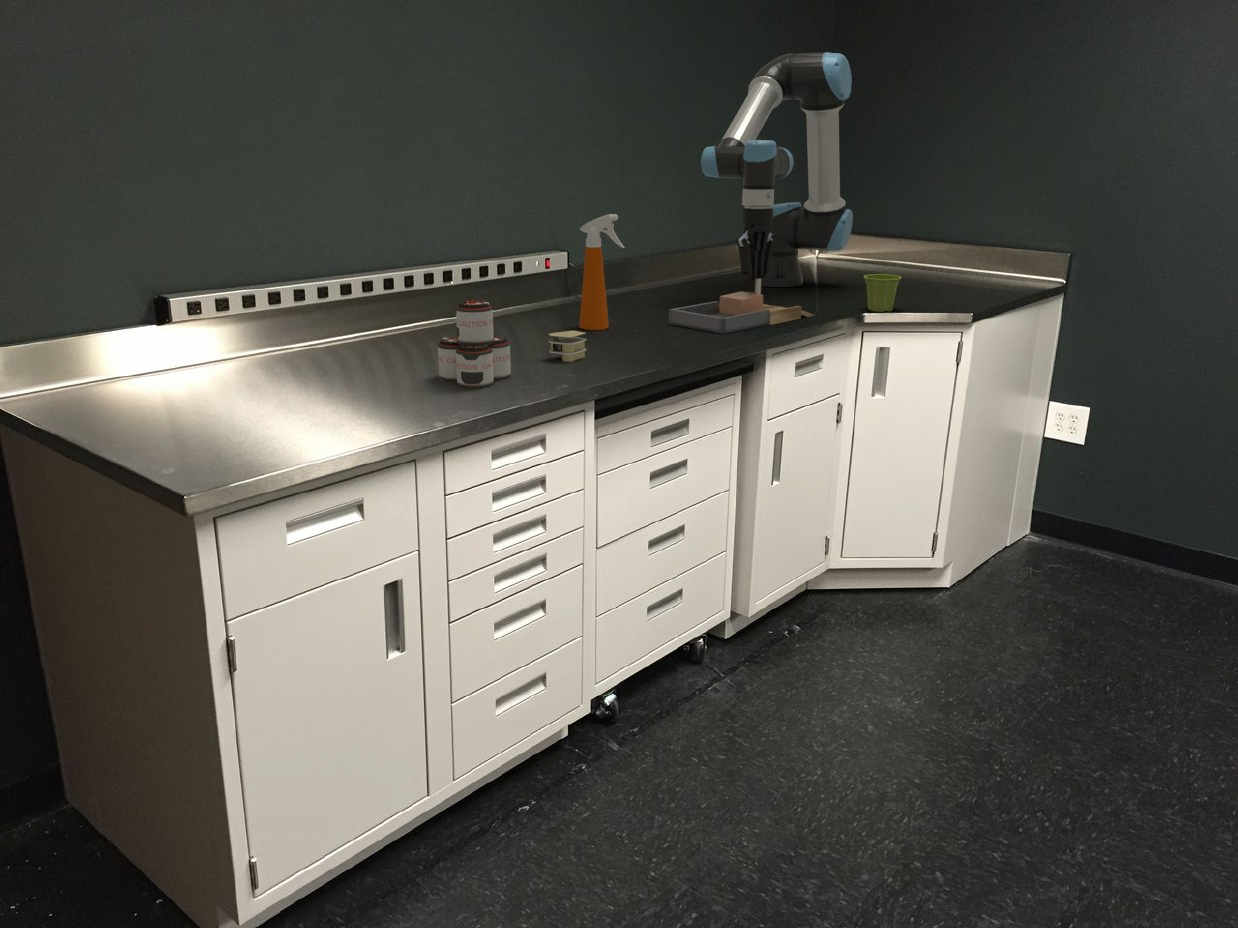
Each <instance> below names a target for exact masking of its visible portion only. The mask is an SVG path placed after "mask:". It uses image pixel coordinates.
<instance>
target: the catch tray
mask: <svg viewBox="0 0 1238 928" xmlns="http://www.w3.org/2000/svg"><path fill="white" fill-rule="evenodd" d="M719 302H720V301H710V302H704V303H698V304H693V305H687V306H682V307H676V308H670V309H668V324H669V325H672V326H676V327H678V326H679V327H683V328H688V329H693V330H697V331H698V330H699V331H704V332H710V333H714V334H720V335H724V334H725V335H726V334H730V333H733V332H734V333H735V332H739V331H743V330H748V329H754V328H758V327H759V328H760V327H762V326H769V311H770V310H767V309H766V310H761V311H756V312H750V313H745V314H740V315H735V316H731V315H725V314H719Z"/></svg>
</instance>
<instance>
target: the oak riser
mask: <svg viewBox="0 0 1238 928" xmlns="http://www.w3.org/2000/svg"><path fill="white" fill-rule="evenodd" d="M718 302H719V314H725V315H731V314H726V313H720V301H718ZM766 309H767V310H770V311H769V325H776V324H781V323H785V322H790V321H795V320H799V319H800V320H801V319H802V317H807V318H811V317H814V316H817V315H816V314H813V313H810V312H809V311H806V310H802V309H803V307H802V306H801V305H796V306H790V307H785V306H779V305H772V304H765V303H763V310H766ZM731 316H735V315H731ZM769 325H768V326H769Z"/></svg>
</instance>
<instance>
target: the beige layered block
mask: <svg viewBox="0 0 1238 928" xmlns="http://www.w3.org/2000/svg"><path fill="white" fill-rule="evenodd" d="M548 335H549V336H551V337H554V338H552V339H549V340H548V342H549V343H550V346H551V347H550V349H549V350H548V351H549V353H551V354H557V355H561V356H560V357H561V360H562V362H566V363H568V362H569V363H570V362H571V363H572V362H575V361H577V360H580V359H585V356H586V351H587V350H588V349H587V348H585V347H586V346H585V344H586V343H585V342H586V341H587V339H588V338H583V337H579V336H581V335H586V332H584V331H583V332H582V331H578V330H566V331H560V332H558V331H557V332H552V333H548Z"/></svg>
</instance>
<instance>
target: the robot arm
mask: <svg viewBox="0 0 1238 928" xmlns="http://www.w3.org/2000/svg"><path fill="white" fill-rule="evenodd" d="M852 81H853V80H852V71H851V67H850V62H849V60H848V59H847V57H846V56H845V55H844V54H842V53H837V52H835V53H834V52H830V51H829V52H828V51H826V52H809V53H808V52H804V53H786V54H782V55H780V56H778V57H776V58H774V59H772V60H771V61H770V62H768V63H767V64H765V65H764V66H763V67H761V69H760V70H759V71H758V72H756V73H755V75H754V76H753V78H752V80H751V81H750V83H749V84H748V90H747V91H748V92H747V96H746V97H745V99H744V101H743V102H742V103H741V106H740V108H739V109H738V111H737V113H736V114H735V116H734V118H733V120H732V121H731V123H730V125H729V127H727V128H728V129H727V130H726V132H725V134H724V136H723V137H722V139H721V141H720V142H719V144H718V145H717V146H716V145H713V146H707V147H705V148H704V149H703V150H702V151H703V152H702V154H701V158H700V160H701V161H700V164H701V165H700V166H701V170H702V172H703V175H704V176H706V177H709V178H718V179H743V180H742V181H743V182H742V183H743V184H742V185H743V186H742V197H741V198H742V199H741V205H742V206H744V207H743V208H742V210H741V223H742V224H744V228H743V231H742V233H743V234H742V236H741V237H736V239H735V243H736V245H737V247H738V255H739V262H740V270H741V276H742V277H744V278H745V279H747V289H746V290H747V292H748V293H754V294H761V295H762V293H761V292H762V289H763V288H762V287H768V288H769V287H770V288H789V287H791V288H792V287H799V286H802V285H803V278H804V277H803V276H804V275H803V274H802V269H801V264H800V261H799V250H810V251H811V250H813V251H826V252H831V251H832V252H835V251H836V252H838V251H839V252H840V251H843V249H844V248H845V247H846V246H847V244H848V242H849V239H850V237H851V233H852V228H853V223H854V222H853V220H854V214H853V211H852V209H849V208H846V200H845V199H844V198H842V197H841V184H840V183H841V182H840V181H841V178H840V176H841V175H840V173H841V172H840V124H839V123H840V117H839V116H840V115H839V113H840V112H839V111H840V110H841V109H842V108H843V107H844V106H845V100H848V99H849V98H850V95H851V93H852V84H853V82H852ZM787 100H795V101H796V100H799V101H800V102H799V103H800V104H799V105H800V109H801V110H802V111H803V112H804V113H805V115H806V140H807V141H806V145H807V148H806V149H807V176H808V179H807V180H808V199H807V200H806V201H805V202H804V204H803V207H802V204H801V202H799V201H796V202H795V201H794V202H785V203H776V204H774V203H775V201H774V200H775V183H776V180H781V179H783V178H785V177H787V176H788V175H790V173H792V170H793V168H794V163H795V162H794V157H793V154H792V153H791V151H789V150H788V149H787V148H785V147H781V146H777V143H776V141H775V140H771V139H770V140H769V139H767V140H766V139H763V140H762V139H757V138H758V137H759V134H760V132H761V131H762V129H763V127H764V125H765V123H766V121H767V120H768V118H769V116H770V114H771V112H772V111H773V109H775V108H777V107H778V106H779V105H780V104H781V103H782V101H787Z"/></svg>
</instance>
